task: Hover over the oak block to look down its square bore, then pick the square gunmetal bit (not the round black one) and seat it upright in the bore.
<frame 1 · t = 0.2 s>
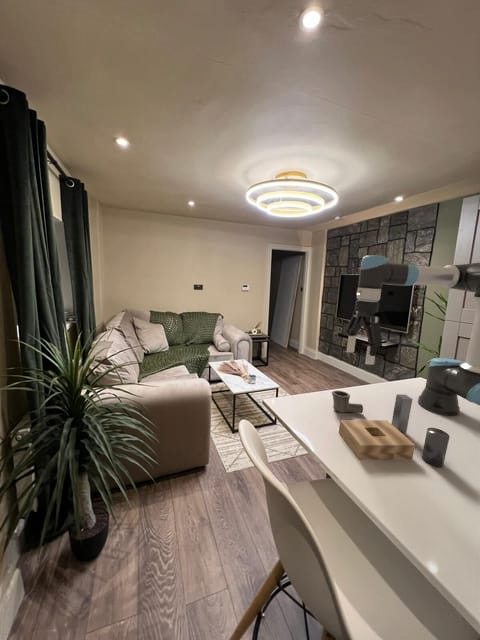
hand: (359, 357, 96), 27 cm above the table, fingers open, 13 cm apart
pipe: (345, 411, 111), on the table
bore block: (373, 444, 89), on the table
square bit: (398, 431, 98), on the table
round bit: (432, 461, 83), on the table
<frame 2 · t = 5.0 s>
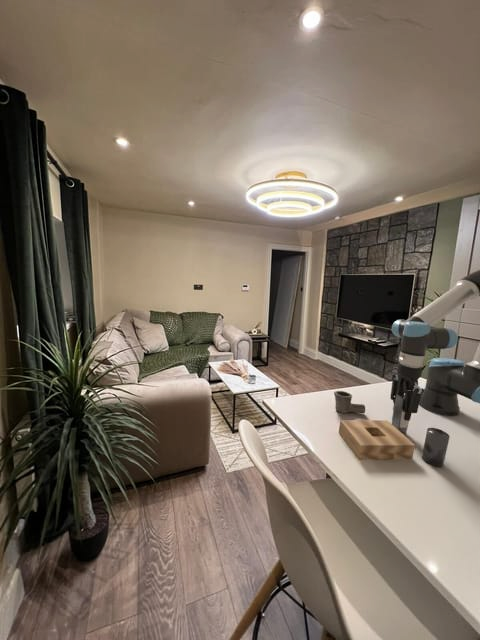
hand: (399, 423, 98), 3 cm above the table, fingers closed on square bit, 4 cm apart
square bit: (398, 431, 98), on the table, touching gripper
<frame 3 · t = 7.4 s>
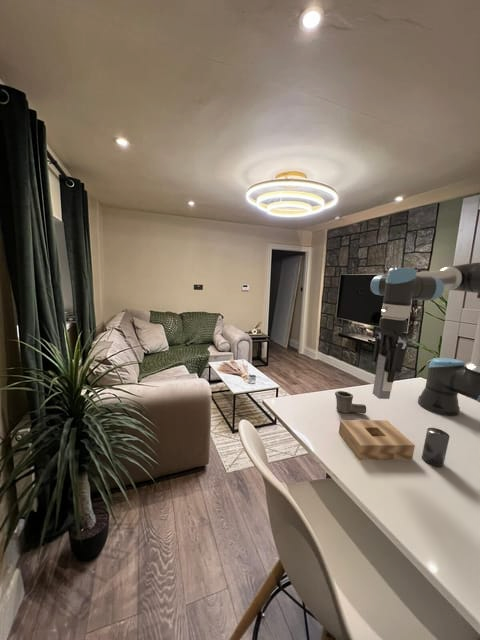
hand: (382, 387, 86), 21 cm above the table, fingers closed on square bit, 4 cm apart
square bit: (380, 396, 86), point 18 cm above the table, touching gripper
when the fingers open (6 cm above the table, at t = 9.8 s): square bit drops 3 cm, resting in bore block.
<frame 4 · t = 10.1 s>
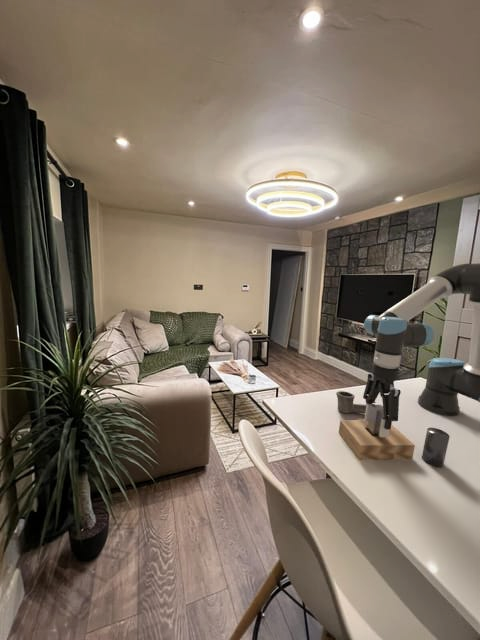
hand: (375, 428, 88), 6 cm above the table, fingers open, 8 cm apart
square bit: (372, 444, 89), resting in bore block
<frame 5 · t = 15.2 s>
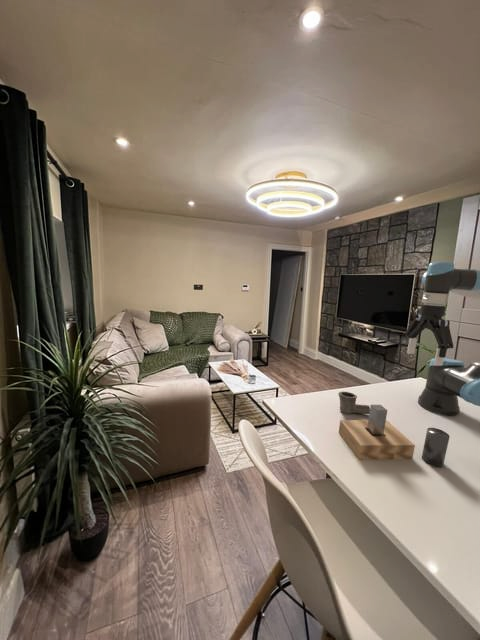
hand: (423, 359, 100), 27 cm above the table, fingers open, 13 cm apart
at the end: square bit 0.0 cm off-centre on the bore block, point 0.0 cm above the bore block's base; square bit tilted 0°; round bit moved 0.0 cm from its start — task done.
